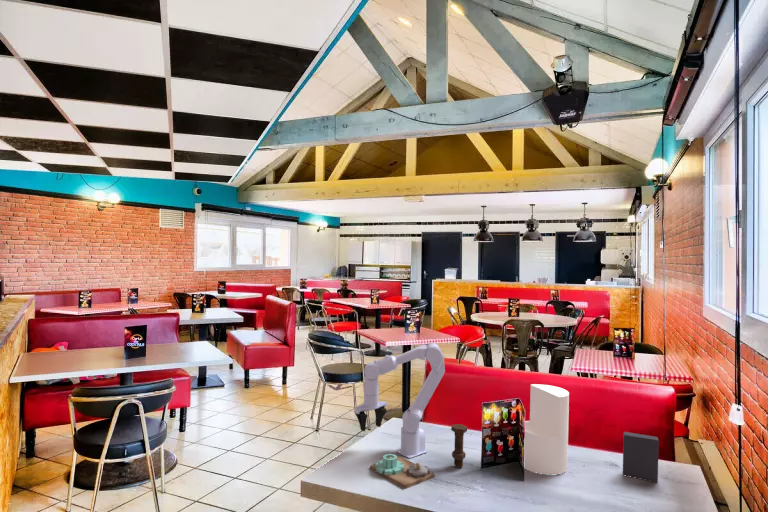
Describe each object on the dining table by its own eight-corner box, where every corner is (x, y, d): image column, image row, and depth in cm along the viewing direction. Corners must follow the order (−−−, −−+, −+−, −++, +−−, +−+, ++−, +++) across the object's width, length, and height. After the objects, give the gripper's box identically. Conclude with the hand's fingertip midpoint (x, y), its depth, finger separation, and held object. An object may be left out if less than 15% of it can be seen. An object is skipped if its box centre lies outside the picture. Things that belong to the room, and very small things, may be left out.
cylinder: (547, 453, 193) (549, 383, 193) (577, 471, 177) (579, 395, 176) (510, 458, 188) (511, 386, 187) (537, 478, 171) (539, 399, 171)
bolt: (465, 464, 181) (466, 424, 181) (466, 470, 176) (467, 429, 176) (450, 463, 182) (451, 423, 182) (450, 469, 177) (451, 428, 177)
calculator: (656, 478, 173) (657, 436, 173) (657, 483, 169) (658, 440, 169) (622, 471, 178) (623, 430, 177) (622, 476, 174) (623, 434, 174)
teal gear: (391, 460, 181) (391, 448, 181) (409, 469, 173) (409, 458, 173) (370, 467, 174) (370, 455, 174) (387, 477, 167) (388, 465, 167)
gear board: (399, 458, 185) (399, 445, 185) (434, 477, 170) (434, 462, 170) (370, 468, 176) (370, 454, 176) (404, 488, 161) (405, 473, 161)
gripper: (379, 388, 198) (378, 421, 198) (350, 394, 189) (349, 429, 189) (390, 392, 193) (389, 426, 193) (361, 398, 184) (360, 434, 184)
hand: (370, 428), depth 191 cm, fingers open, 7 cm apart
